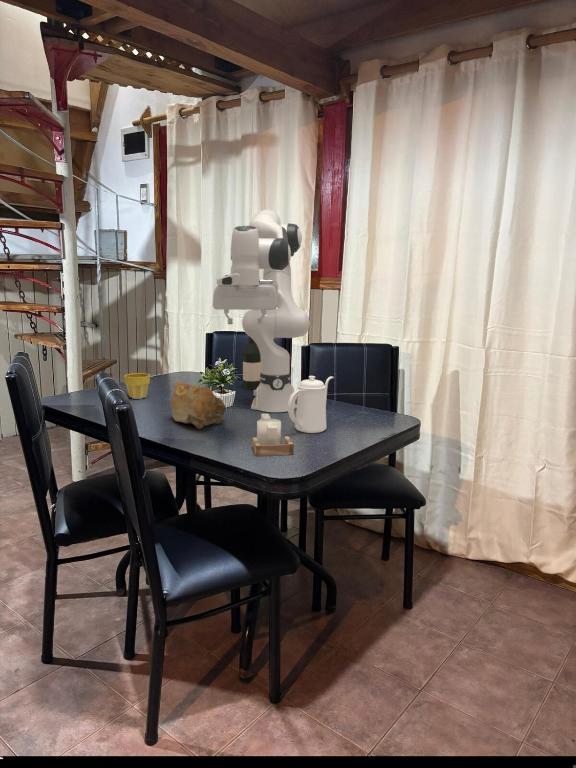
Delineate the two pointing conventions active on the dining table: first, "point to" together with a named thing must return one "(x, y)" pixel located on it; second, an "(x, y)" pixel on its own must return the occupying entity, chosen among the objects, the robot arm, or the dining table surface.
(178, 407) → the rough brown rock
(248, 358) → the wine bottle
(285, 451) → the cradle
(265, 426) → the white bar with bulge
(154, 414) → the dining table surface
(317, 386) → the coffeepot
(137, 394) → the plant pot
